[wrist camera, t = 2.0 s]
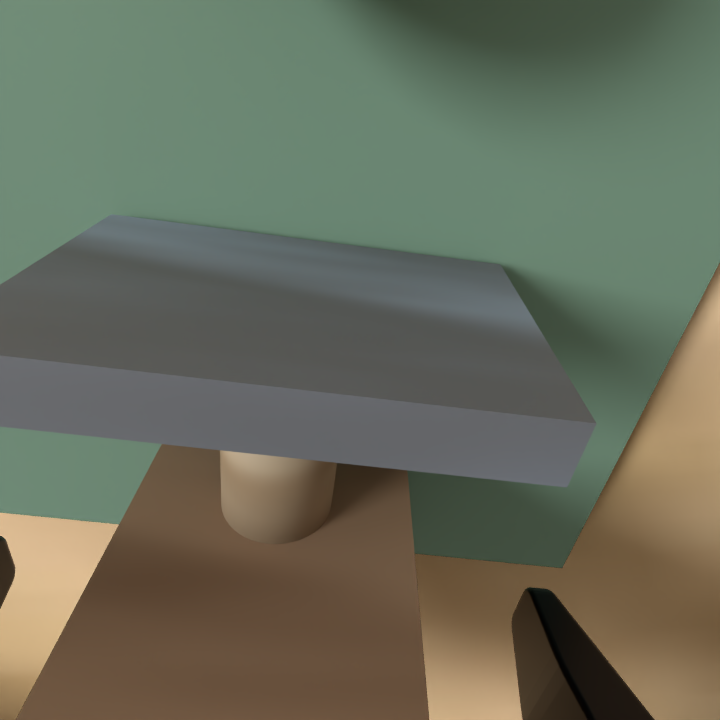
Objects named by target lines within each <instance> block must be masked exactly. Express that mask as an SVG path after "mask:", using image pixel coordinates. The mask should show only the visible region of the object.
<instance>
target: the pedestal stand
mask: <svg viewBox="0 0 720 720" xmlns="http://www.w3.org/2000/svg"><path fill="white" fill-rule="evenodd" d="M596 424H597V423H596V422H595V420H594V418H593V417H592V415H591V413H590V412H589V410H588V408H587V407H586V405H585V403H584V402H583V400H582V398H581V397H580V395H579V393H578V392H577V390H576V388H575V387H574V385H573V384H572V382H571V380H570V379H569V377H568V375H567V374H566V372H565V370H564V369H563V367H562V365H561V364H560V362H559V360H558V359H557V357H556V355H555V354H554V352H553V351H552V349H551V347H550V346H549V344H548V342H547V341H546V339H545V337H544V336H543V334H542V332H541V331H540V329H539V327H538V326H537V324H536V322H535V321H534V319H533V317H532V316H531V314H530V313H529V311H528V309H527V308H526V306H525V304H524V303H523V301H522V299H521V298H520V296H519V294H518V293H517V291H516V289H515V288H514V286H513V284H512V283H511V281H510V280H509V278H508V276H507V275H506V273H505V271H504V270H503V268H502V266H501V265H500V264H494V263H486V262H478V261H470V260H463V259H455V258H447V257H439V256H432V255H424V254H416V253H408V252H401V251H393V250H385V249H377V248H370V247H362V246H354V245H346V244H338V243H331V242H323V241H315V240H307V239H300V238H292V237H284V236H276V235H269V234H261V233H253V232H245V231H238V230H230V229H222V228H214V227H207V226H199V225H191V224H183V223H176V222H168V221H160V220H152V219H145V218H137V217H129V216H121V215H114V214H111V215H109V216H108V217H106V218H104V219H103V220H101V221H100V222H98V223H97V224H95V225H93V226H92V227H90V228H89V229H87V230H85V231H84V232H82V233H81V234H79V235H78V236H76V237H74V238H73V239H71V240H70V241H68V242H67V243H65V244H63V245H62V246H60V247H59V248H57V249H56V250H54V251H52V252H51V253H49V254H48V255H46V256H44V257H43V258H41V259H40V260H38V261H37V262H35V263H33V264H32V265H30V266H29V267H27V268H26V269H24V270H22V271H21V272H19V273H18V274H16V275H15V276H13V277H11V278H10V279H8V280H7V281H5V282H3V283H2V284H0V427H7V428H17V429H26V430H35V431H45V432H54V433H63V434H73V435H82V436H91V437H101V438H110V439H119V440H129V441H138V442H147V443H157V444H161V446H160V448H159V450H158V452H157V454H156V456H155V458H154V460H153V461H152V463H151V465H150V467H149V469H148V471H147V473H146V475H145V477H144V478H143V480H142V482H141V484H140V486H139V488H138V490H137V492H136V494H135V495H134V497H133V499H132V501H131V503H130V505H129V507H128V509H127V511H126V512H125V514H124V516H123V518H122V520H121V522H120V524H119V526H118V528H117V529H116V531H115V533H114V535H113V537H112V539H111V541H110V543H109V545H108V546H107V548H106V550H105V552H104V554H103V556H102V558H101V560H100V562H99V563H98V565H97V567H96V569H95V571H94V573H93V575H92V577H91V578H90V580H89V582H88V584H87V586H86V588H85V590H84V592H83V594H82V595H81V597H80V599H79V601H78V603H77V605H76V607H75V609H74V611H73V612H72V614H71V616H70V618H69V620H68V622H67V624H66V626H65V628H64V629H63V631H62V633H61V635H60V637H59V639H58V641H57V643H56V645H55V646H54V648H53V650H52V652H51V654H50V656H49V658H48V660H47V662H46V663H45V665H44V667H43V669H42V671H41V673H40V675H39V677H38V679H37V680H36V682H35V684H34V686H33V688H32V690H31V692H30V694H29V696H28V697H27V699H26V701H25V703H24V705H23V707H22V709H21V711H20V713H19V714H18V716H17V718H16V720H429V711H428V699H427V688H426V677H425V665H424V654H423V643H422V631H421V620H420V608H419V597H418V586H417V574H416V563H415V551H414V540H413V529H412V517H411V506H410V495H409V483H408V472H407V470H408V471H418V472H427V473H436V474H446V475H455V476H464V477H474V478H483V479H492V480H502V481H511V482H520V483H530V484H539V485H548V486H558V487H567V486H568V484H569V482H570V480H571V478H572V476H573V474H574V471H575V469H576V467H577V465H578V463H579V461H580V458H581V456H582V454H583V452H584V450H585V448H586V446H587V443H588V441H589V439H590V437H591V435H592V433H593V430H594V428H595V426H596Z"/></svg>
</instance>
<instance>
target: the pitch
mask: <svg viewBox="0 0 720 720" xmlns="http://www.w3.org/2000/svg"><path fill="white" fill-rule="evenodd" d="M111 214H114V215H121V216H129V217H137V218H145V219H152V220H160V221H168V222H176V223H183V224H191V225H199V226H207V227H214V228H222V229H230V230H238V231H245V232H253V233H261V234H269V235H276V236H284V237H292V238H300V239H307V240H315V241H323V242H331V243H338V244H346V245H354V246H362V247H370V248H377V249H385V250H393V251H401V252H408V253H416V254H424V255H432V256H439V257H447V258H455V259H463V260H470V261H478V262H486V263H494V264H500V265H501V266H502V268H503V270H504V271H505V273H506V275H507V276H508V278H509V280H510V281H511V283H512V284H513V286H514V288H515V289H516V291H517V293H518V294H519V296H520V298H521V299H522V301H523V303H524V304H525V306H526V308H527V309H528V311H529V313H530V314H531V316H532V317H533V319H534V321H535V322H536V324H537V326H538V327H539V329H540V331H541V332H542V334H543V336H544V337H545V339H546V341H547V342H548V344H549V346H550V347H551V349H552V351H553V352H554V354H555V355H556V357H557V359H558V360H559V362H560V364H561V365H562V367H563V369H564V370H565V372H566V374H567V375H568V377H569V379H570V380H571V382H572V384H573V385H574V387H575V388H576V390H577V392H578V393H579V395H580V397H581V398H582V400H583V402H584V403H585V405H586V407H587V408H588V410H589V412H590V413H591V415H592V417H593V418H594V420H595V422H596V423H597V424H596V426H595V428H594V430H593V433H592V435H591V437H590V439H589V441H588V443H587V446H586V448H585V450H584V452H583V454H582V456H581V458H580V461H579V463H578V465H577V467H576V469H575V471H574V474H573V476H572V478H571V480H570V482H569V484H568V486H567V487H558V486H548V485H539V484H530V483H520V482H511V481H502V480H492V479H483V478H474V477H464V476H455V475H446V474H436V473H427V472H418V471H408V470H407V472H408V483H409V495H410V506H411V517H412V529H413V540H414V551H415V554H425V555H435V556H445V557H455V558H465V559H475V560H485V561H495V562H505V563H515V564H526V565H536V566H546V567H556V568H562V567H563V565H564V563H565V562H566V560H567V558H568V556H569V554H570V552H571V550H572V548H573V546H574V544H575V542H576V540H577V538H578V536H579V534H580V532H581V531H582V529H583V527H584V525H585V523H586V521H587V519H588V517H589V515H590V513H591V511H592V509H593V507H594V505H595V503H596V501H597V499H598V498H599V496H600V494H601V492H602V490H603V488H604V486H605V484H606V482H607V480H608V478H609V476H610V474H611V472H612V470H613V468H614V467H615V465H616V463H617V461H618V459H619V457H620V455H621V453H622V451H623V449H624V447H625V445H626V443H627V441H628V439H629V437H630V435H631V434H632V432H633V430H634V428H635V426H636V424H637V422H638V420H639V418H640V416H641V414H642V412H643V410H644V408H645V406H646V404H647V403H648V401H649V399H650V397H651V395H652V393H653V391H654V389H655V387H656V385H657V383H658V381H659V379H660V377H661V375H662V373H663V371H664V370H665V368H666V366H667V364H668V362H669V360H670V358H671V356H672V354H673V352H674V350H675V348H676V346H677V344H678V342H679V340H680V339H681V337H682V335H683V333H684V331H685V329H686V327H687V325H688V323H689V321H690V319H691V317H692V315H693V313H694V311H695V309H696V307H697V306H698V304H699V302H700V300H701V298H702V296H703V294H704V292H705V290H706V288H707V286H708V284H709V282H710V280H711V278H712V276H713V275H714V273H715V271H716V269H717V267H718V265H719V263H720V0H0V284H2V283H3V282H5V281H7V280H8V279H10V278H11V277H13V276H15V275H16V274H18V273H19V272H21V271H22V270H24V269H26V268H27V267H29V266H30V265H32V264H33V263H35V262H37V261H38V260H40V259H41V258H43V257H44V256H46V255H48V254H49V253H51V252H52V251H54V250H56V249H57V248H59V247H60V246H62V245H63V244H65V243H67V242H68V241H70V240H71V239H73V238H74V237H76V236H78V235H79V234H81V233H82V232H84V231H85V230H87V229H89V228H90V227H92V226H93V225H95V224H97V223H98V222H100V221H101V220H103V219H104V218H106V217H108V216H109V215H111ZM160 446H161V444H157V443H147V442H138V441H129V440H119V439H110V438H101V437H91V436H82V435H73V434H63V433H54V432H45V431H35V430H26V429H17V428H7V427H0V513H11V514H21V515H31V516H41V517H51V518H61V519H71V520H81V521H91V522H101V523H111V524H120V522H121V520H122V518H123V516H124V514H125V512H126V511H127V509H128V507H129V505H130V503H131V501H132V499H133V497H134V495H135V494H136V492H137V490H138V488H139V486H140V484H141V482H142V480H143V478H144V477H145V475H146V473H147V471H148V469H149V467H150V465H151V463H152V461H153V460H154V458H155V456H156V454H157V452H158V450H159V448H160Z"/></svg>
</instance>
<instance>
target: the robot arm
mask: <svg viewBox="0 0 720 720" xmlns="http://www.w3.org/2000/svg"><path fill="white" fill-rule="evenodd" d="M14 576H15V565H14V562H13V559H12V556H11V553H10V551H9V548H8V545H7V542H6V540H5V539H4V538H3V537H2V536H0V608H1V606H2V604H3V602H4V600H5V597H6V595H7V593H8V591H9V589H10V587H11V585H12V582H13V579H14ZM512 634H513V643H514V651H515V660H516V669H517V677H518V686H519V695H520V703H521V711H522V719H523V720H654V718H653V717H652V716H651V715H650V713H649V712H648V711H647V710H646V708H645V707H644V706H643V705H642V703H641V702H640V701H639V700H638V698H637V697H636V696H635V694H634V693H633V692H632V691H631V689H630V688H629V687H628V686H627V684H626V683H625V682H624V681H623V679H622V678H621V677H620V676H619V674H618V673H617V672H616V671H615V669H614V668H613V667H612V666H611V664H610V663H609V662H608V661H607V659H606V658H605V657H604V656H603V654H602V653H601V652H600V651H599V649H598V648H597V647H596V646H595V644H594V643H593V642H592V640H591V639H590V638H589V637H588V635H587V634H586V633H585V632H584V630H583V629H582V628H581V627H580V625H579V624H578V623H577V622H576V620H575V619H574V618H573V617H572V615H571V614H570V613H569V612H568V610H567V609H566V608H565V607H564V605H563V604H562V603H561V602H560V600H559V599H558V598H557V597H556V595H555V594H554V593H553V592H552V591H550V590H548V589H542V588H531V587H529V588H527V589H525V591H524V592H523V594H522V596H521V599H520V601H519V603H518V605H517V607H516V609H515V611H514V614H513V617H512Z"/></svg>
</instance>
